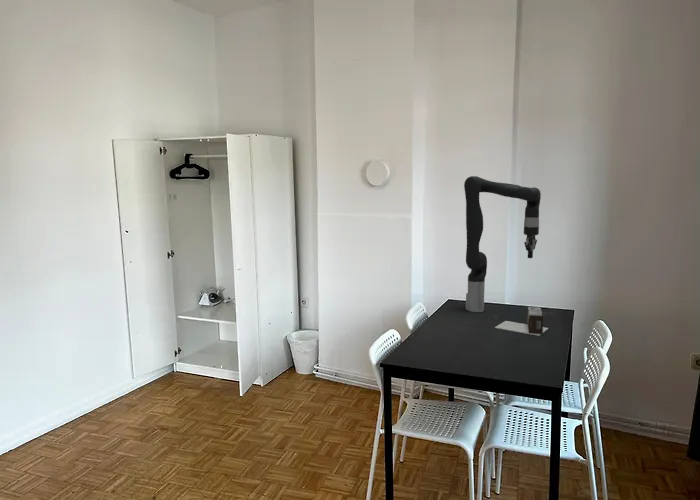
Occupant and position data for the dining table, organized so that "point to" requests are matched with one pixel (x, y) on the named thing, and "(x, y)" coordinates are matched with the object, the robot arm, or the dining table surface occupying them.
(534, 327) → the coffee box
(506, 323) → the grey mat
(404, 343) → the dining table surface
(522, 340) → the dining table surface
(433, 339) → the dining table surface
